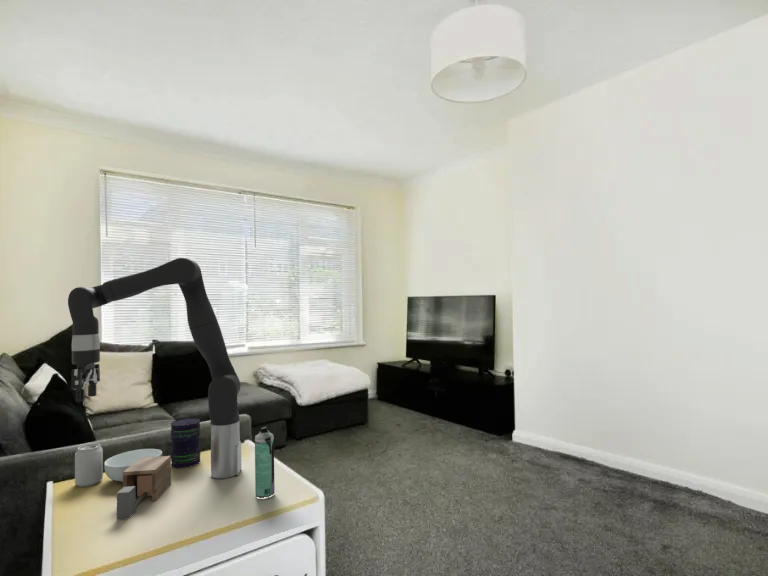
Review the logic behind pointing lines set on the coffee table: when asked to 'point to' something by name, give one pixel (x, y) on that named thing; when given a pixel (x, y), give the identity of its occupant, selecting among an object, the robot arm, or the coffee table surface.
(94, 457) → the can
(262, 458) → the spray can
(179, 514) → the coffee table surface
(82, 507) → the coffee table surface
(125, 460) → the cereal bowl
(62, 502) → the coffee table surface
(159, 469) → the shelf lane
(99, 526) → the coffee table surface
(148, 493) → the block with cord
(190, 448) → the storage jar
